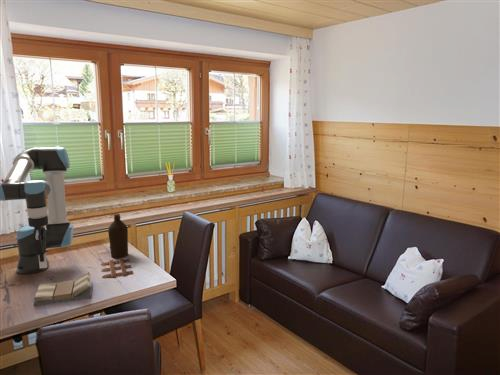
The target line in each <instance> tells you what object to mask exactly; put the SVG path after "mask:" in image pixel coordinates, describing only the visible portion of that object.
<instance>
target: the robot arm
mask: <svg viewBox="0 0 500 375" xmlns="http://www.w3.org/2000/svg"><path fill="white" fill-rule="evenodd" d="M70 167H71V166H70V158H69V154H68V152H67V149H66V148H65V147H63V146H51V147H50V146H47V147H45V146H44V147H32V148H31V147H30V148H28V149H26V150H23V151H22V152H20V153H18V154H17V155H16V156H15V158H14V159H13V161H12V167H11V168H10V170H9V171H8V173H7V175H6V177H5V178H4V180H3V182H2V183H0V201H3V202H5V201H17V200H25V203H26V209H25V212H26V213H27V217H28V218H27V222H28V225H26V226H22V227H20V228H18V229H17V231H16V241H17V249H18V260H17V264H16V272H17V273H18V274H21V275H28V274H29V275H31V274H35V273H40V272H43V271H45V270H47V269H48V268H49V267H50V261H49V259H48V257H47V253H48V250H49V249H58V248H61V249H62V248H67V247H70V246H71V245H72V242H73V237H74V225H73V224H71V222H70V221H69V219H68V218H67V207H66V205H67V203H66V189H65V188H66V187H65V174H67V172H68V170H67V169H70ZM35 170H42V173H43V174H44V175H45V176H46V180H42V179H41V180H39V179H36V180H35V179H34V180H28V181H26V179H27V177H28V175H29V173H31V172H32V171H35ZM46 197H47V198H46Z"/></svg>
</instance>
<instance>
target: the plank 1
mask: <svg viewBox="0 0 500 375" xmlns="http://www.w3.org/2000/svg"><path fill="white" fill-rule="evenodd" d="M57 284H58V282H51V283H40V284H39V286H38V288H37V290H36V293H35V296H34V299H33V300H34V301H35V302H37V301H47V300H53V297H54V293H55V290H56V287H57Z"/></svg>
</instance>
